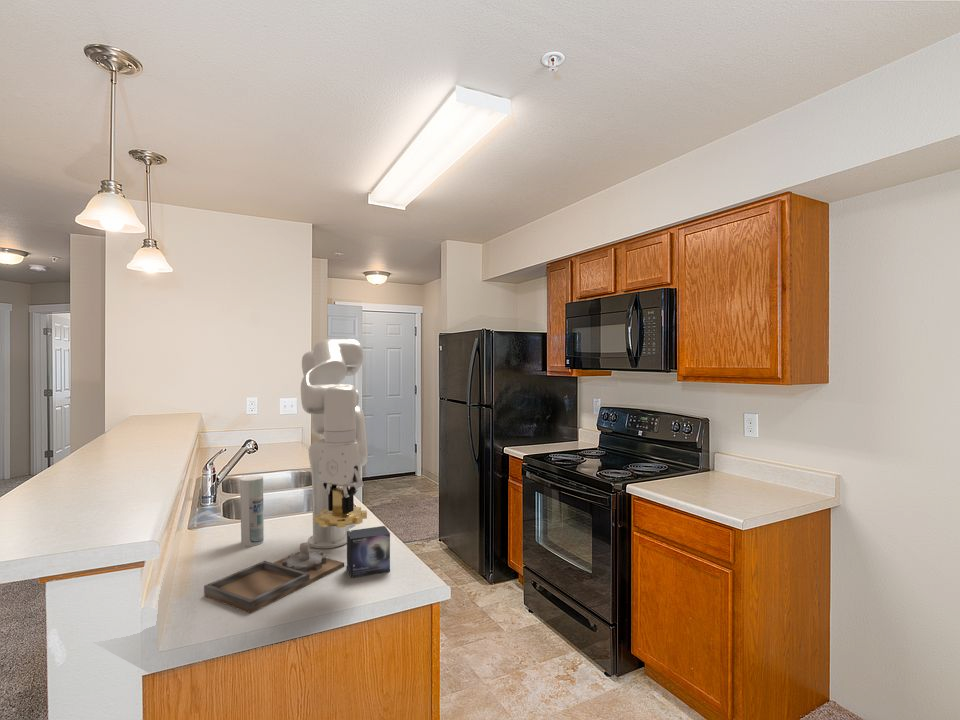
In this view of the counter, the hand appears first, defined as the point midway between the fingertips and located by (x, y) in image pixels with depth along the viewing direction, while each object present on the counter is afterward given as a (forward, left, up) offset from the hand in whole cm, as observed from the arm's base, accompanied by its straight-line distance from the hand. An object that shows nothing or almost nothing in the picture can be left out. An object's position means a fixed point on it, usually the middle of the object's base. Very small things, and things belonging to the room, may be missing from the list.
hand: (341, 510), depth 128 cm
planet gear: (0, 0, -2) cm, 2 cm away
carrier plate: (+5, -17, -19) cm, 26 cm away
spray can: (-9, -46, -19) cm, 51 cm away
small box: (-11, -1, -19) cm, 22 cm away
